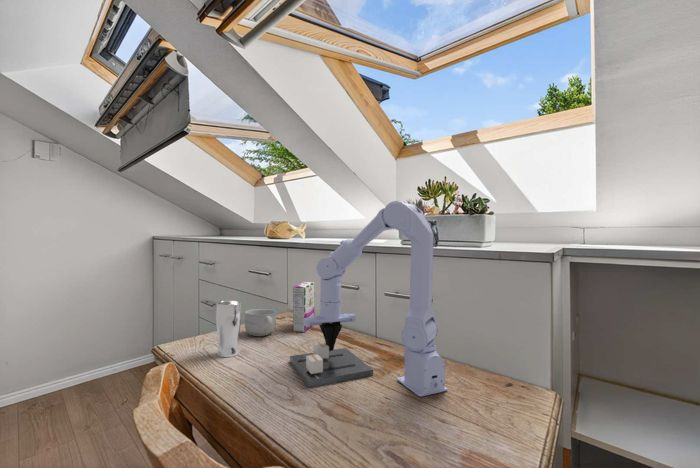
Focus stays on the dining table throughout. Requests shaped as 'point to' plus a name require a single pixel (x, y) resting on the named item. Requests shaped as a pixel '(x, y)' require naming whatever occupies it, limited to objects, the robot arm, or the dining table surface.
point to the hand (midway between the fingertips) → (329, 349)
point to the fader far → (321, 350)
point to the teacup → (260, 321)
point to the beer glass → (228, 327)
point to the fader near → (314, 363)
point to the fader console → (332, 368)
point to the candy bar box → (302, 305)
